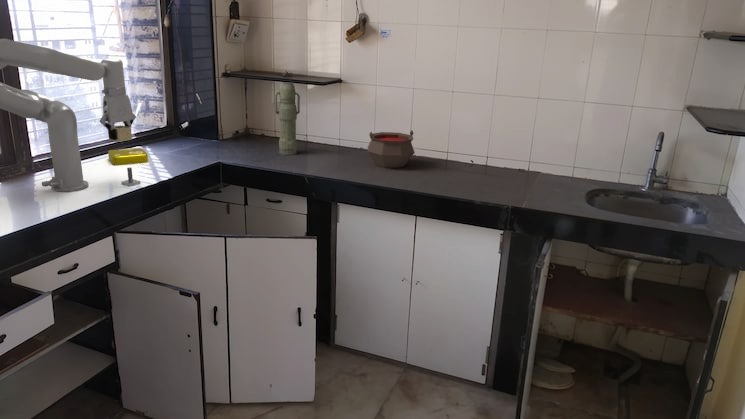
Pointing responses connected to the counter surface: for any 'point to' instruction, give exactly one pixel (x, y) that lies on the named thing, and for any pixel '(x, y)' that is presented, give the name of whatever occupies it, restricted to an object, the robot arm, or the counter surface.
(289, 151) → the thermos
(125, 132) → the tan box with hole
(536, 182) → the counter surface
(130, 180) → the grey post on base
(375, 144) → the brown cauldron
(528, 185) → the counter surface
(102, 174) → the counter surface
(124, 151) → the element tile
